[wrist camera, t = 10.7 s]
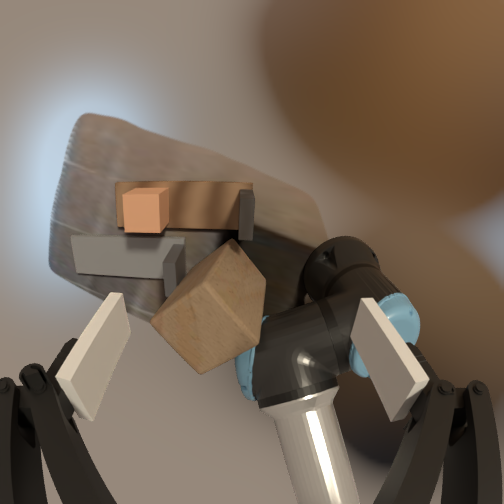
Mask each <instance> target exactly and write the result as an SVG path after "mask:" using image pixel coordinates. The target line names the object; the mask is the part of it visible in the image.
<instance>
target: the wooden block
mask: <svg viewBox="0 0 504 504" xmlns="http://www.w3.org/2000/svg"><path fill="white" fill-rule="evenodd" d="M265 287H266V279H265V278H264V277H263V275H262V274H261V273H260V272H259V270H258V269H257V268H256V267H255V265H254V264H253V263H252V261H251V260H250V259H249V258H248V256H247V255H246V254H245V253H244V251H243V250H242V249H241V248H240V246H239V245H238V244H237V242H236V241H235V240H234V239H230V240H228V241H227V242H226V243H224V244H223V245H222V246H220V247H219V248H218V249H216V250H215V251H214V252H212V253H211V254H210V255H208V256H207V257H206V258H205V259H203V260H202V261H201V262H199V263H198V264H197V265H195V266H194V267H193V268H192V269H191V270H190V271H189V273H188V274H187V275H186V276H185V277H184V279H183V280H182V281H181V282H180V284H179V285H178V286H177V287H176V288H175V290H174V291H173V292H172V293H171V295H170V296H169V297H168V298H167V300H166V301H165V302H164V303H163V305H162V306H161V307H160V308H159V310H158V311H157V312H156V313H155V315H154V316H153V317H152V319H151V320H150V324H151V325H152V326H153V327H154V328H155V330H156V331H157V332H158V333H159V334H160V335H161V336H162V337H163V338H164V339H165V340H166V341H167V343H168V344H169V345H170V346H171V347H172V348H173V349H174V350H175V351H176V352H177V353H178V354H179V355H180V356H181V357H182V358H183V359H184V360H185V361H186V362H187V363H188V364H189V365H190V366H191V367H192V368H193V369H194V370H195V371H196V372H197V373H198V374H203V373H205V372H207V371H209V370H211V369H213V368H215V367H217V366H219V365H221V364H223V363H225V362H227V361H229V360H231V359H233V358H235V357H237V356H238V355H240V354H242V353H244V352H246V351H248V350H249V349H251V348H253V347H255V346H257V345H258V343H259V340H260V332H261V323H262V314H263V305H264V296H265Z"/></svg>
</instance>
